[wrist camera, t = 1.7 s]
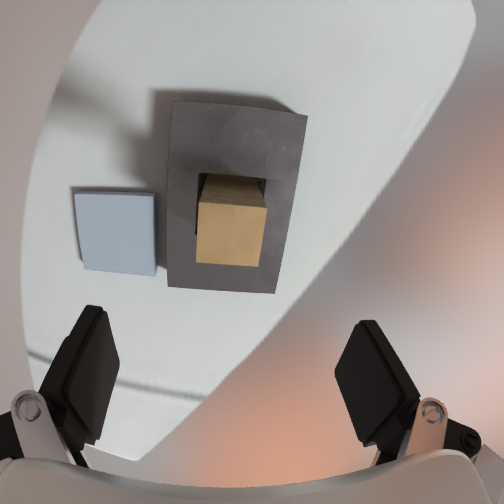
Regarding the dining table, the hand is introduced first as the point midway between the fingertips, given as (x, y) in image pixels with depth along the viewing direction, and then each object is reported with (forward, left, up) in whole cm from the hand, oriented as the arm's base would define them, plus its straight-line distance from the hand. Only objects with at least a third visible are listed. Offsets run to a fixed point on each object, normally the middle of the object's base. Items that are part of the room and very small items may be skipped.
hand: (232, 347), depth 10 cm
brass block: (-1, 0, -17) cm, 17 cm away
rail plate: (-1, 0, -16) cm, 16 cm away
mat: (+3, -10, -16) cm, 20 cm away
